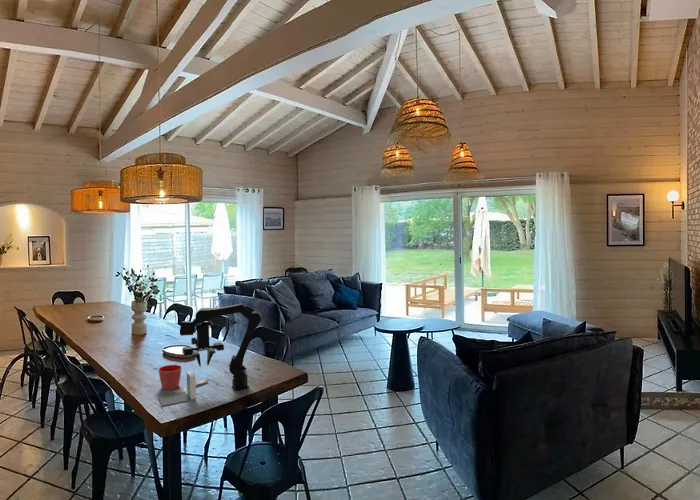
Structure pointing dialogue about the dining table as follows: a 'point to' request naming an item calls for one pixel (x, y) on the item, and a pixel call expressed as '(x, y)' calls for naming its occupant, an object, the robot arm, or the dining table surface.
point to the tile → (191, 385)
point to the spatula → (196, 386)
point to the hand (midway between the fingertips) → (203, 366)
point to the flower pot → (170, 376)
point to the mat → (173, 399)
